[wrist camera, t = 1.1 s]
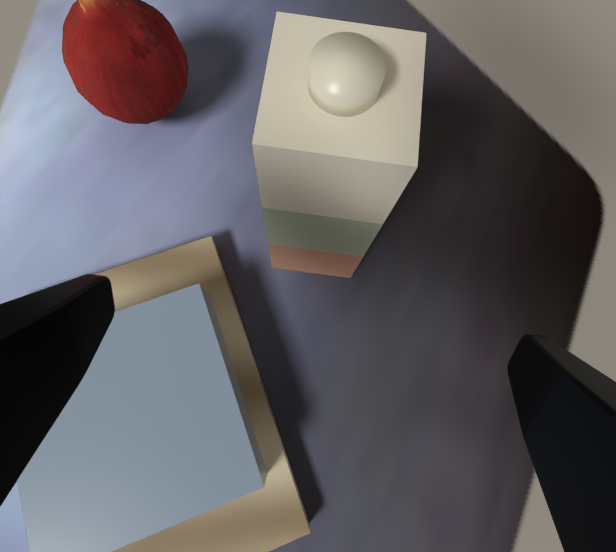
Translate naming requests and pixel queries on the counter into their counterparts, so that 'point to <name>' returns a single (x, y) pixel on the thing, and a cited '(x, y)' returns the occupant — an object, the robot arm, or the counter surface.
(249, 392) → the board
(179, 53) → the onion
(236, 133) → the counter surface
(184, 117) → the counter surface
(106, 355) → the base brick
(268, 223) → the brick column
